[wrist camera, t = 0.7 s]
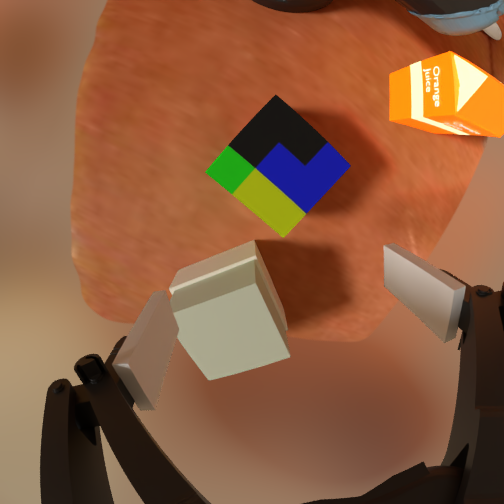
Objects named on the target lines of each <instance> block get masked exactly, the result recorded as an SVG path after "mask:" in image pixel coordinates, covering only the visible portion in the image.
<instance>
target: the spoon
mask: <svg viewBox="0 0 504 504" xmlns="http://www.w3.org/2000/svg"><path fill="white" fill-rule="evenodd" d="M483 31H484V32H486V33H487V34H488V35H489V36H490V37H492V38H493V39H495V40H500V39H501V37H502V34H501V30H500V28H499V26H498V25H497V23H496V22H495V23H494V24H492V25H491V26H489V27H487V28H485V29H483Z"/></svg>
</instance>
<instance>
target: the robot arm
mask: <svg viewBox="0 0 504 504" xmlns="http://www.w3.org/2000/svg"><path fill="white" fill-rule="evenodd" d="M253 1H254V2H256V3H258V4H260V5H263V6H265V7H268V8H271V9H275V10H279V11H285V12H309V11H314V10H318V9H321V8H323V7H325V6H327V5H328V4H330V3H331V2H332V1H333V0H253ZM395 1H397V2H398V3H399V4H401V5H402V6H403V7H405V8H406V10H407V11H408V12H410V13H411V14H412V15H414V16H417V17H418V18H419V19H421V20H422V21H423V22H425V23H426V24H427V25H428V26H430V27H431V28H432V29H434V30H435V31H437V32H439V33H441V34H445V35H452V36H462V35H468V34H472V33H475V32H478V31H481V30H483V29H485V28H487V27H489V26H491V25H492V24H494V23H495V22H496V21H498V20H499V17H498V16H501V15H503V14H504V0H395ZM384 287H386V288H387V289H388V290H389V291H390V292H391V293H392V294H393V295H394V296H395V297H397V298H398V299H399V300H400V301H401V302H402V303H403V304H404V305H405V306H406V307H407V308H408V309H410V310H411V311H412V312H413V313H414V314H415V315H416V316H417V317H418V318H419V319H420V320H421V321H422V322H423V323H424V324H425V325H426V326H427V327H428V328H429V329H431V330H432V331H433V332H434V333H435V334H436V335H437V336H438V337H439V338H440V339H441V340H442V341H443V342H444V343H446V342H448V341H450V340H452V339H454V338H455V337H456V333H457V329H458V327H459V328H460V329H461V330H462V335H461V339H460V343H459V347H458V350H460V347H461V355H460V373H459V383H458V393H457V400H456V408H455V414H454V420H453V425H452V431H451V435H450V440H449V444H448V448H447V452H446V455H445V458H444V459H443V462H442V464H441V466H433V467H426V466H425V464H424V462H421V463H420V464H417V465H415V466H413V467H411V468H409V469H407V470H405V471H403V472H401V473H398V474H396V475H394V476H392V477H391V478H389V479H388V480H386V481H385V482H383V483H382V484H380V485H378V486H377V487H375V488H374V489H372V490H371V491H369V492H367V493H366V494H364V495H362V496H359V497H351V498H341V499H324V500H317V501H312V502H307V503H303V504H504V282H503V286H502V291H497V292H494V291H493V290H492V289H491V288H490V287H487V286H484V285H477V286H474V287H471V286H470V285H468V284H467V283H465V282H463V281H462V280H460V279H458V278H457V277H455V276H453V275H452V274H451V273H449V272H447V271H445V270H441V269H438V268H436V267H435V266H433V265H431V264H430V263H428V262H426V261H425V260H423V259H421V258H420V257H418V256H416V255H414V254H413V253H411V252H409V251H407V250H406V249H404V248H402V247H400V246H398V245H397V244H395V243H392V244H387V245H384ZM178 332H179V327H178V325H177V322H176V319H175V316H174V314H173V311H172V308H171V305H170V302H169V299H168V297H167V294H166V291H165V290H162V291H157V292H153V294H152V295H151V297H150V299H149V300H148V302H147V304H146V305H145V307H144V309H143V310H142V312H141V314H140V315H139V317H138V319H137V320H136V322H135V324H134V326H133V327H132V329H131V331H130V333H129V334H128V336H124V337H123V338H121V339H120V340H119V341H118V342H117V343H116V345H115V347H114V350H112V352H111V353H110V354H111V355H110V356H109V357H108V359H107V360H106V362H105V364H104V363H103V361H102V359H101V357H100V356H99V355H98V354H89V355H87V356H84V357H82V358H81V359H79V360H78V361H77V362H76V364H75V366H74V370H75V372H76V373H77V375H78V377H79V378H80V380H81V381H82V383H83V384H82V385H77V386H72V385H71V383H70V382H69V381H68V380H67V379H59V380H57V381H54V382H53V383H52V384H51V385H50V387H49V388H48V391H47V396H46V403H45V410H44V417H43V427H42V439H41V456H40V487H41V503H42V504H114V501H113V498H112V494H111V490H110V485H109V481H108V477H107V472H106V467H105V461H104V456H103V449H102V443H101V435H100V427H99V426H101V428H102V430H103V433H104V435H105V437H106V439H107V441H108V443H109V445H110V447H111V449H112V451H113V452H114V455H115V456H116V458H117V460H118V462H119V464H120V465H121V467H122V469H123V471H124V472H125V474H126V476H127V477H128V479H129V481H130V482H131V484H132V485H133V487H134V488H135V490H136V492H137V493H138V495H139V496H140V497H141V499H142V501H143V502H144V503H145V504H211V503H210V502H209V501H208V500H207V499H206V498H205V497H204V496H203V495H202V494H201V493H200V492H199V491H198V490H197V489H196V488H195V487H194V486H193V485H192V484H191V483H190V482H189V481H188V480H187V479H186V477H185V476H184V475H183V474H182V473H181V472H180V471H179V470H178V468H177V467H176V466H175V465H174V464H173V462H172V461H171V460H170V459H169V458H168V456H167V455H166V454H165V453H164V452H163V450H162V449H161V448H160V446H159V445H158V444H157V442H156V441H155V440H154V439H153V437H152V436H151V434H150V433H149V432H148V430H147V429H146V428H145V426H144V425H143V423H142V422H141V420H140V419H139V418H138V416H137V415H136V413H135V412H134V410H133V409H132V408H133V404H134V402H135V403H136V404H137V406H138V408H139V409H140V410H156V407H157V403H158V399H159V396H160V392H161V388H162V385H163V381H164V378H165V375H166V371H167V368H168V365H169V361H170V358H171V355H172V351H173V348H174V345H175V341H176V338H177V335H178Z"/></svg>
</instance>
